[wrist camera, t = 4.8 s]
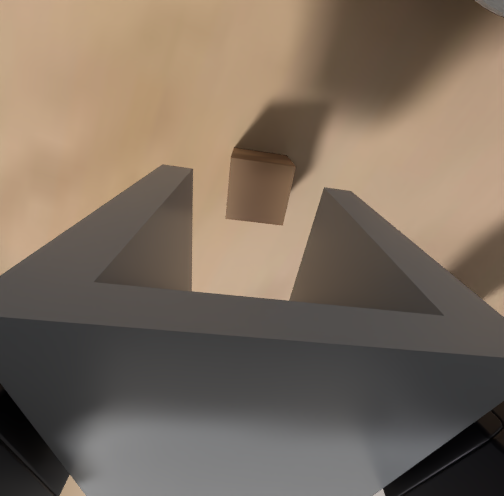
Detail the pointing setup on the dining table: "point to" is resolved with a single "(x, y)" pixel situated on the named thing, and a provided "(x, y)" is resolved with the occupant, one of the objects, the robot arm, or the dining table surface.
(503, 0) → the dish
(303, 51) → the dining table surface
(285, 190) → the walnut block
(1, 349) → the grey cover
